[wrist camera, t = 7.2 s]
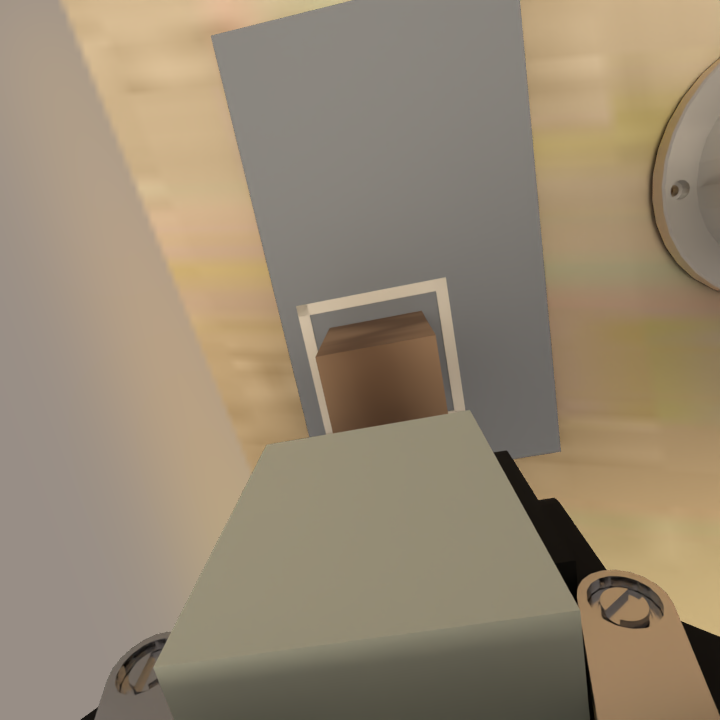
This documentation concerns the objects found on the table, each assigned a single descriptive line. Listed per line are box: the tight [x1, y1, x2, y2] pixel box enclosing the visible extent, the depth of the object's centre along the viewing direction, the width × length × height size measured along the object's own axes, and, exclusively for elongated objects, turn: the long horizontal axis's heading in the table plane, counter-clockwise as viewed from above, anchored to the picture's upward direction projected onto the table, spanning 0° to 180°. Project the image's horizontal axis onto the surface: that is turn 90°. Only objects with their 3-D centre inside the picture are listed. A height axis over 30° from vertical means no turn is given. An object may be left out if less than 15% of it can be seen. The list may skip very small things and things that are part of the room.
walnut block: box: [315, 311, 448, 433], centre depth 22 cm, size 5×5×6 cm
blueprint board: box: [211, 0, 561, 459], centre depth 24 cm, size 14×24×1 cm, turn 11°
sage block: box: [153, 410, 590, 720], centre depth 9 cm, size 5×5×6 cm
